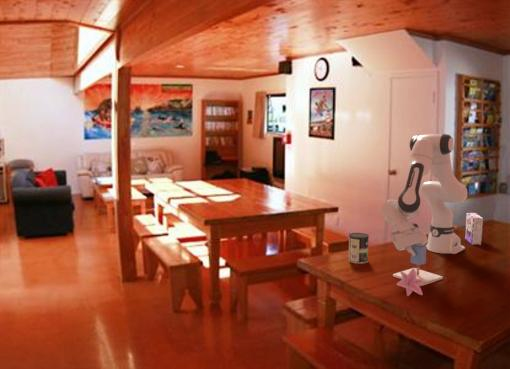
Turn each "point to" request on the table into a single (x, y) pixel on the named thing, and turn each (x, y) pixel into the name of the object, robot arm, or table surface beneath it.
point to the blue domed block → (419, 254)
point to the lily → (410, 282)
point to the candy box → (474, 228)
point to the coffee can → (358, 248)
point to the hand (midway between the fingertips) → (419, 254)
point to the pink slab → (421, 276)
